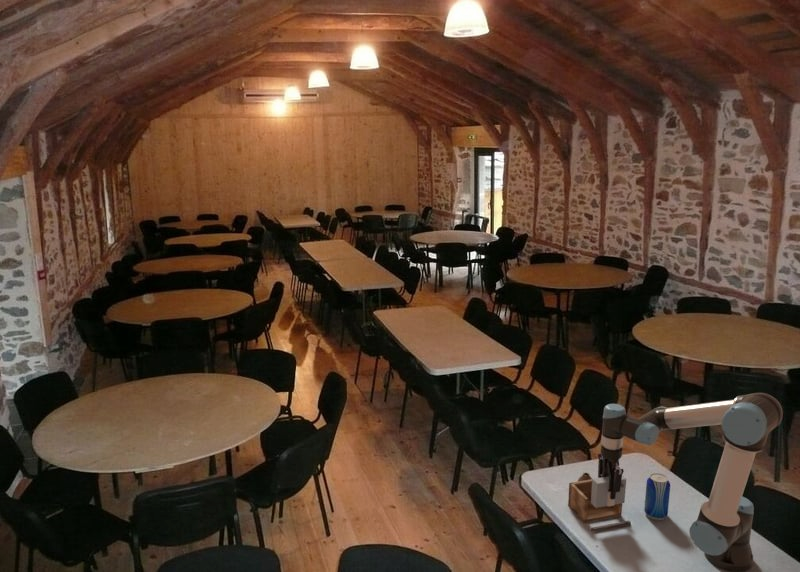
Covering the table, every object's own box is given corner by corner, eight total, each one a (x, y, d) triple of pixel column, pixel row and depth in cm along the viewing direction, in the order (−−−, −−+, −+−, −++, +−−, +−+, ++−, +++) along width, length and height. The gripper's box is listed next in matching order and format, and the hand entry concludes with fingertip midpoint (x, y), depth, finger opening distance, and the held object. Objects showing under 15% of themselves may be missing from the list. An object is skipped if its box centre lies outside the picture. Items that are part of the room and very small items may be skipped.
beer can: (669, 522, 247) (672, 484, 243) (645, 520, 249) (649, 482, 245) (665, 509, 255) (668, 472, 251) (642, 507, 257) (645, 470, 253)
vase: (591, 488, 270) (592, 469, 268) (595, 498, 264) (597, 478, 262) (574, 488, 271) (575, 469, 269) (578, 498, 264) (579, 478, 262)
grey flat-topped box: (626, 504, 244) (628, 480, 242) (597, 509, 241) (599, 485, 239) (619, 497, 248) (620, 474, 246) (590, 502, 245) (592, 478, 243)
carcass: (630, 524, 246) (632, 501, 243) (592, 532, 242) (593, 508, 240) (604, 499, 263) (605, 476, 260) (568, 505, 259) (569, 482, 256)
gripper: (634, 454, 233) (629, 513, 238) (608, 434, 248) (604, 489, 254) (615, 457, 231) (610, 516, 237) (590, 436, 246) (586, 492, 252)
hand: (607, 502), depth 245 cm, fingers closed on grey flat-topped box, 3 cm apart
